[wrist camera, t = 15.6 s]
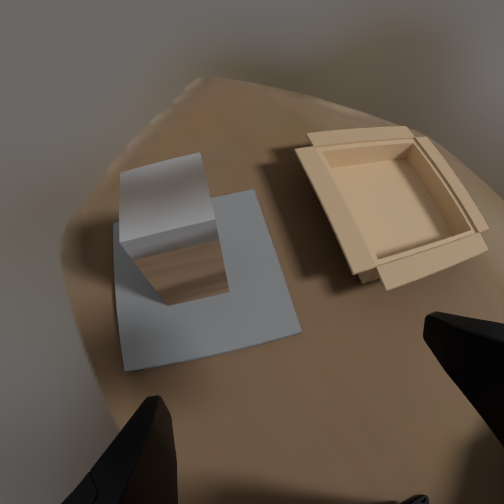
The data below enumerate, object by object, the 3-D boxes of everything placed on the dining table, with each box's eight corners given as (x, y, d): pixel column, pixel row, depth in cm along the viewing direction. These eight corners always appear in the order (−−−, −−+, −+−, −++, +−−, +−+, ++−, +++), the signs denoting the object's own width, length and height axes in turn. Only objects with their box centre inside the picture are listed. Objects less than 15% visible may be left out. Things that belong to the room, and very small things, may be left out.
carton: (480, 261, 25) (498, 245, 22) (349, 312, 23) (363, 298, 20) (408, 145, 33) (417, 126, 30) (284, 160, 31) (287, 135, 28)
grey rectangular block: (229, 291, 23) (215, 219, 15) (168, 306, 23) (119, 242, 14) (216, 238, 26) (200, 152, 17) (160, 251, 25) (120, 173, 16)
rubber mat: (300, 333, 22) (301, 331, 22) (127, 371, 21) (124, 370, 20) (253, 193, 29) (253, 189, 28) (115, 226, 27) (113, 223, 27)
